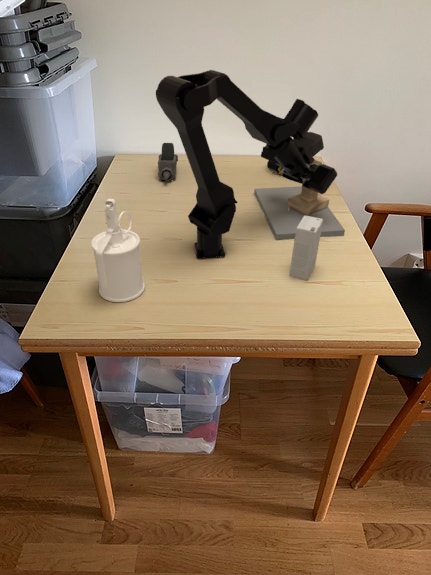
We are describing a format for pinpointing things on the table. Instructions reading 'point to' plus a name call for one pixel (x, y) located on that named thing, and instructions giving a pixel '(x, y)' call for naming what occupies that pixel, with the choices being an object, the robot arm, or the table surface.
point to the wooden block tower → (308, 199)
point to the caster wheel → (167, 162)
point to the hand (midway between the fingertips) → (313, 186)
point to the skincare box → (305, 247)
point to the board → (292, 213)
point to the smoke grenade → (118, 259)
